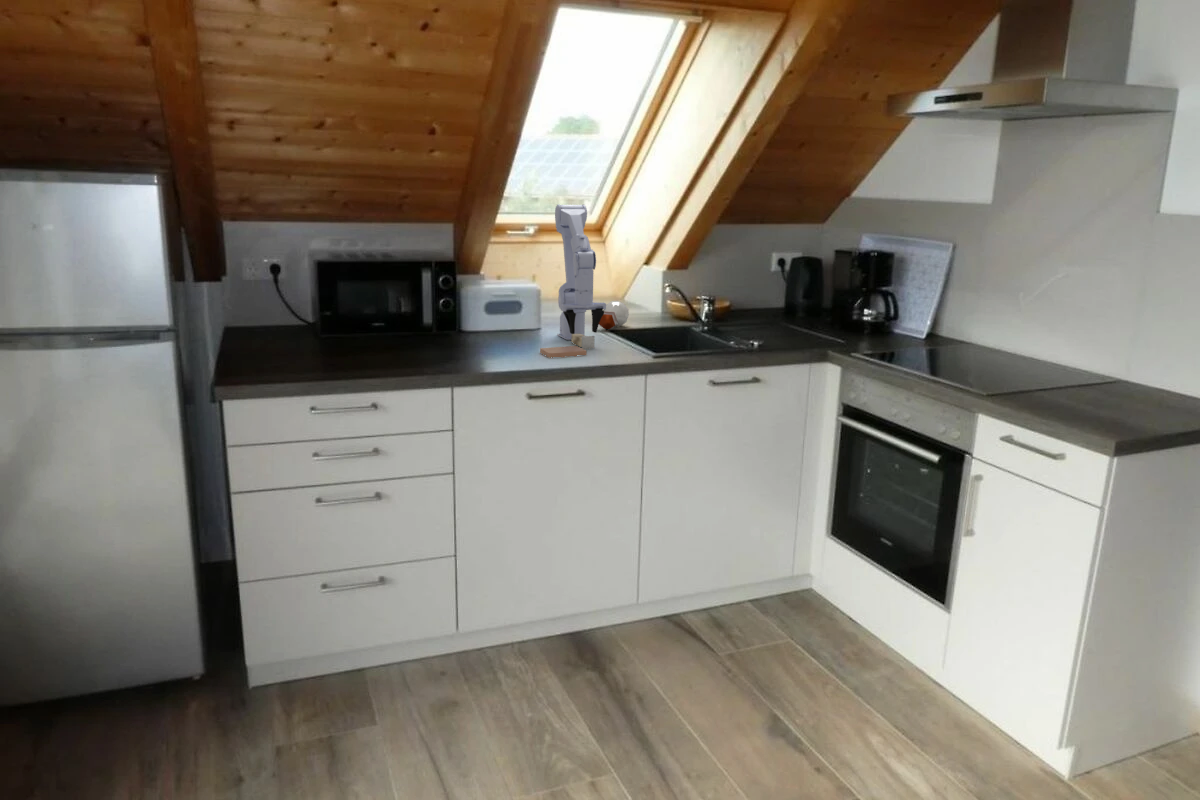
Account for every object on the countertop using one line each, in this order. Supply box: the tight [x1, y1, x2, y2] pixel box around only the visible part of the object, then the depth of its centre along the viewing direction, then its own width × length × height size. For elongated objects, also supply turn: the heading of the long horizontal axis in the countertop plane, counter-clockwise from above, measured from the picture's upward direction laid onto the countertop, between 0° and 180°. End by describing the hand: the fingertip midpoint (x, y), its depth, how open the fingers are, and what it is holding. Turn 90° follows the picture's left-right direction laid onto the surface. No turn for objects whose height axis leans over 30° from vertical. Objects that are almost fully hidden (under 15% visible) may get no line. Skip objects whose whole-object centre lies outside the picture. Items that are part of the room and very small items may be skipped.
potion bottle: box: [598, 300, 630, 330], centre depth 313 cm, size 9×10×15 cm
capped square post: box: [570, 334, 596, 350], centre depth 280 cm, size 11×4×4 cm, turn 23°
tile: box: [539, 345, 587, 359], centre depth 267 cm, size 2×12×8 cm
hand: (583, 332), depth 279 cm, fingers open, 7 cm apart
